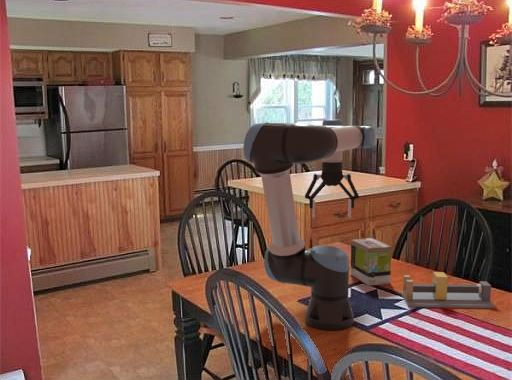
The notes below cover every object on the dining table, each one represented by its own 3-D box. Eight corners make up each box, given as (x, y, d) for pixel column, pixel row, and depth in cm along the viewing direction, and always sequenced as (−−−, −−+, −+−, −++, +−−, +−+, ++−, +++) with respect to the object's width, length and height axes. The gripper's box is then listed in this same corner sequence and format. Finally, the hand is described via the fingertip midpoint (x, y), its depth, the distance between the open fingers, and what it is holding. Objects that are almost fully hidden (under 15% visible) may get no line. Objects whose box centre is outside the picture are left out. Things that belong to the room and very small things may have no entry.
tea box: (391, 283, 204) (392, 246, 201) (367, 286, 201) (368, 248, 199) (372, 272, 218) (372, 236, 216) (349, 274, 215) (350, 238, 213)
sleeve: (446, 299, 182) (447, 277, 181) (435, 299, 182) (436, 276, 181) (442, 294, 187) (443, 272, 186) (432, 294, 188) (433, 272, 186)
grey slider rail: (493, 308, 178) (495, 285, 177) (408, 306, 180) (408, 284, 179) (481, 295, 190) (483, 273, 188) (401, 294, 192) (402, 272, 191)
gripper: (364, 160, 203) (362, 214, 206) (298, 160, 204) (298, 215, 207) (367, 161, 196) (366, 218, 199) (299, 162, 197) (299, 218, 200)
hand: (331, 216), depth 203 cm, fingers open, 13 cm apart
